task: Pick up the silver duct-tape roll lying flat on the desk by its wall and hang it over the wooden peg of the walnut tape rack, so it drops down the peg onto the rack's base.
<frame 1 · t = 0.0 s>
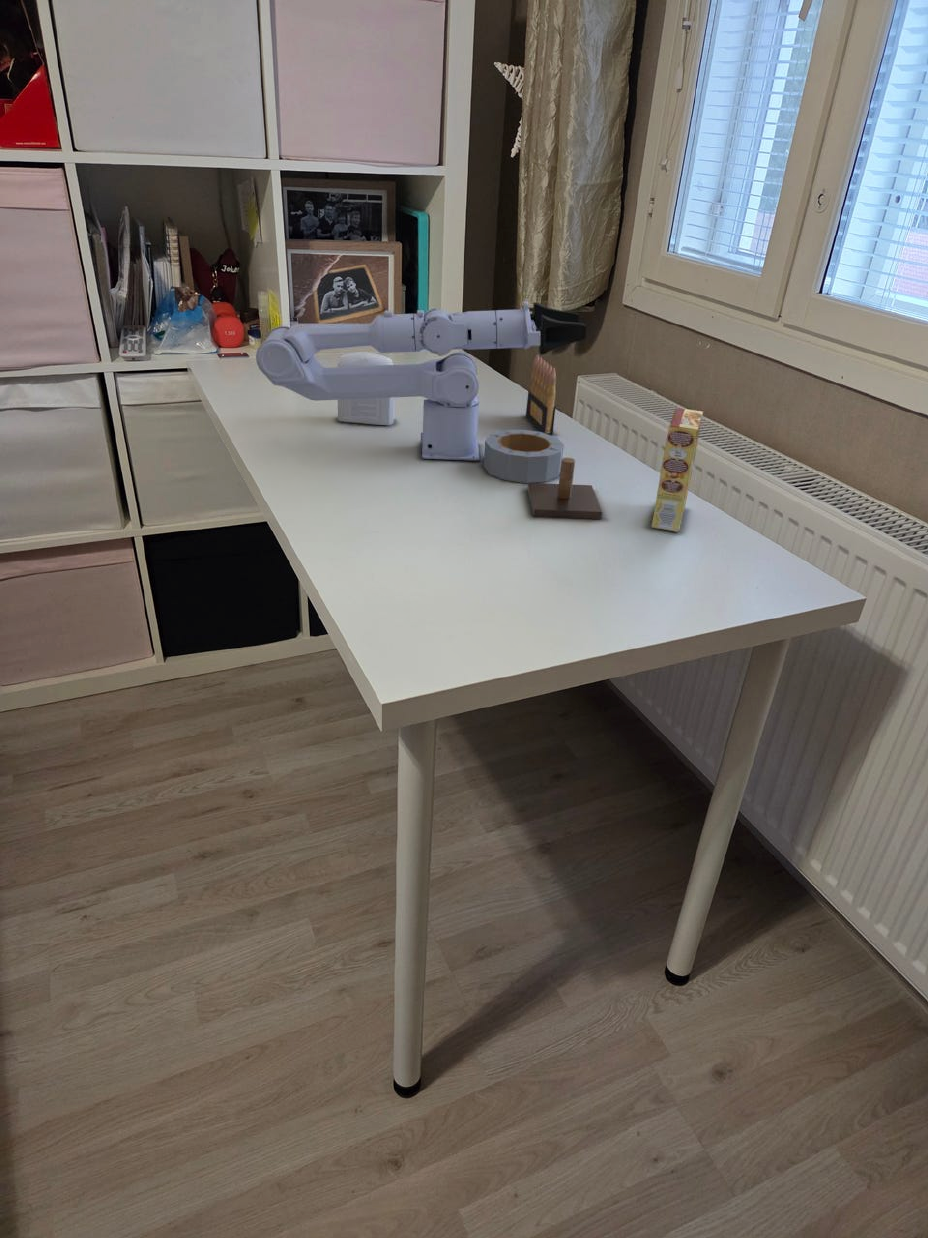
hand: (581, 325, 133), 22 cm above the table, tool horizontal, fingers open, 7 cm apart
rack: (563, 504, 128), on the table
candy box: (667, 520, 125), on the table
tape roll: (522, 468, 139), on the table
ammunition clip: (538, 426, 158), on the table
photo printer: (366, 422, 155), on the table
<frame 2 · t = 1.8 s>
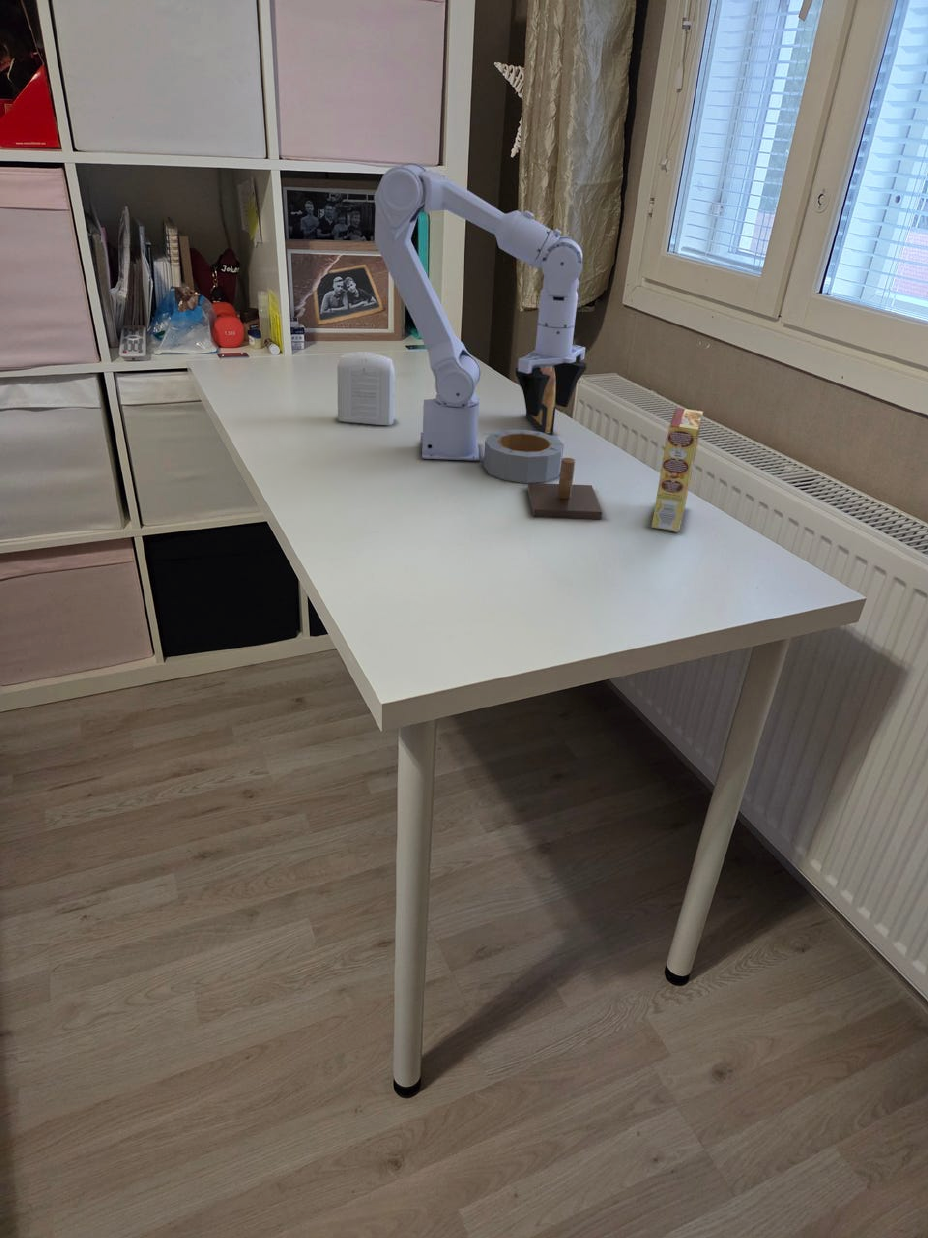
hand: (547, 410, 138), 9 cm above the table, tool pointing down, fingers open, 7 cm apart
nothing on the table moved.
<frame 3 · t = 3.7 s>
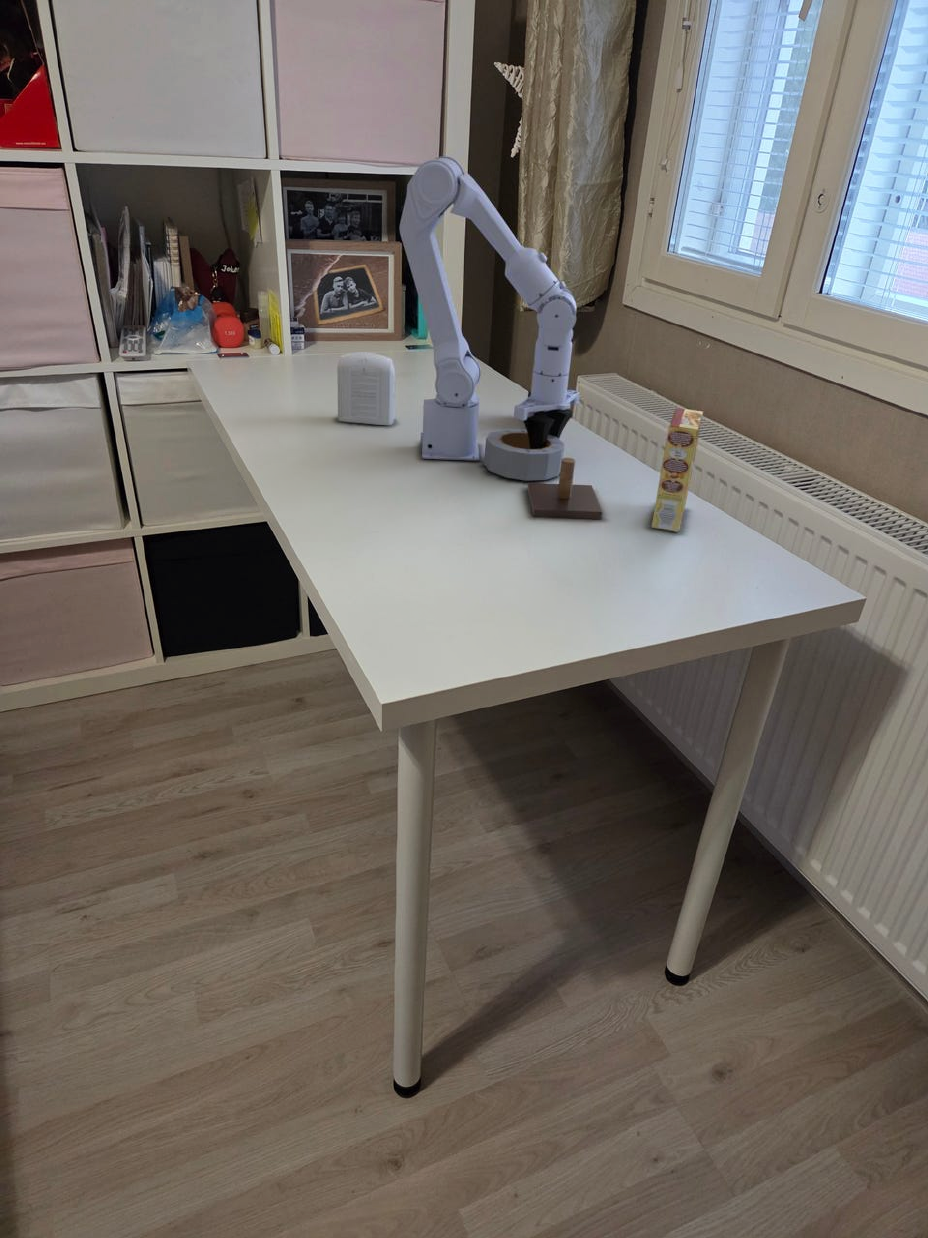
hand: (542, 453, 142), 1 cm above the table, tool pointing down, fingers closed on tape roll, 2 cm apart
tape roll: (522, 466, 139), on the table, touching gripper
everything else where it was.
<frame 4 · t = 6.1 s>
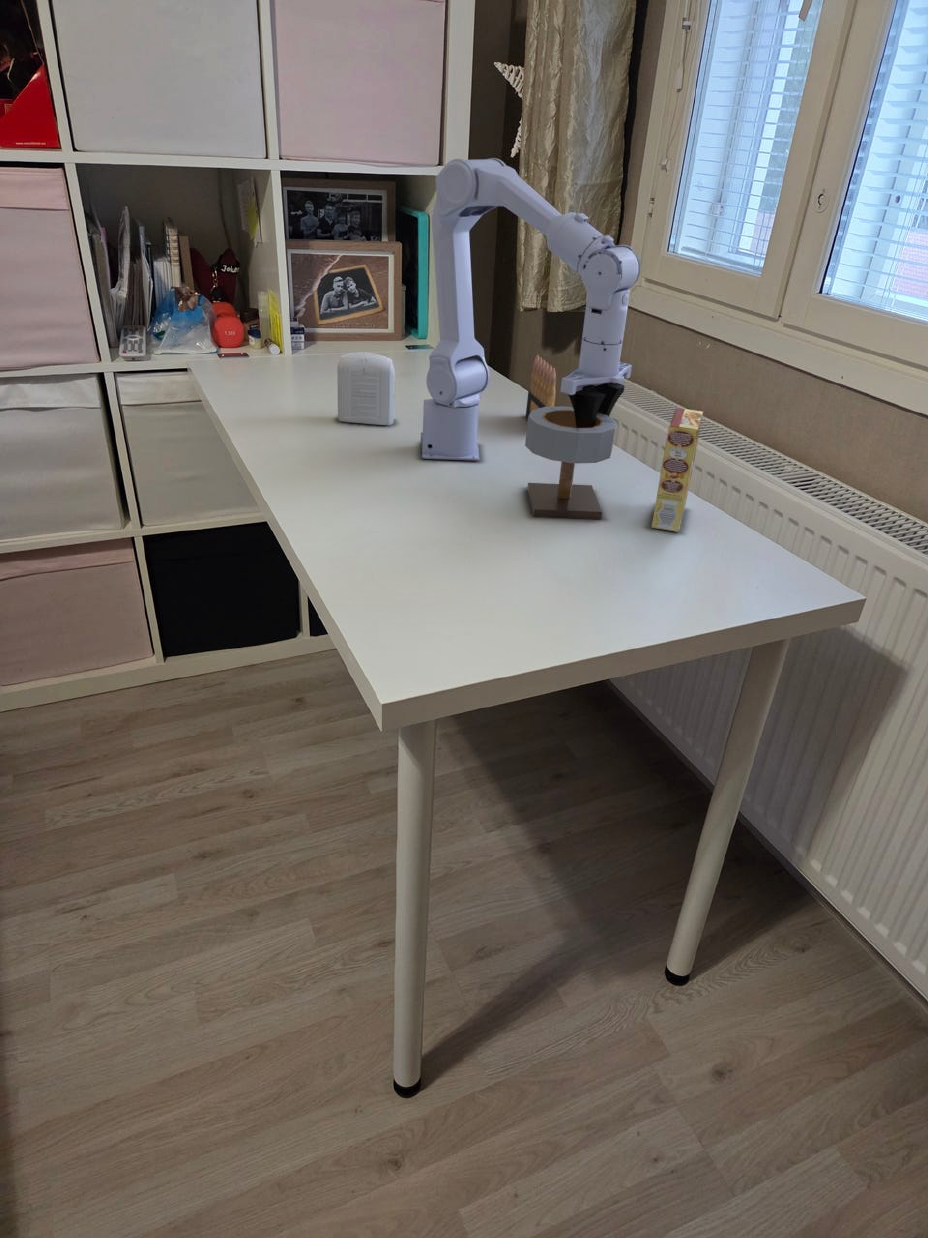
hand: (589, 433, 126), 10 cm above the table, tool pointing down, fingers closed on tape roll, 2 cm apart
tape roll: (568, 448, 124), point 9 cm above the table, touching gripper
everything else where it was.
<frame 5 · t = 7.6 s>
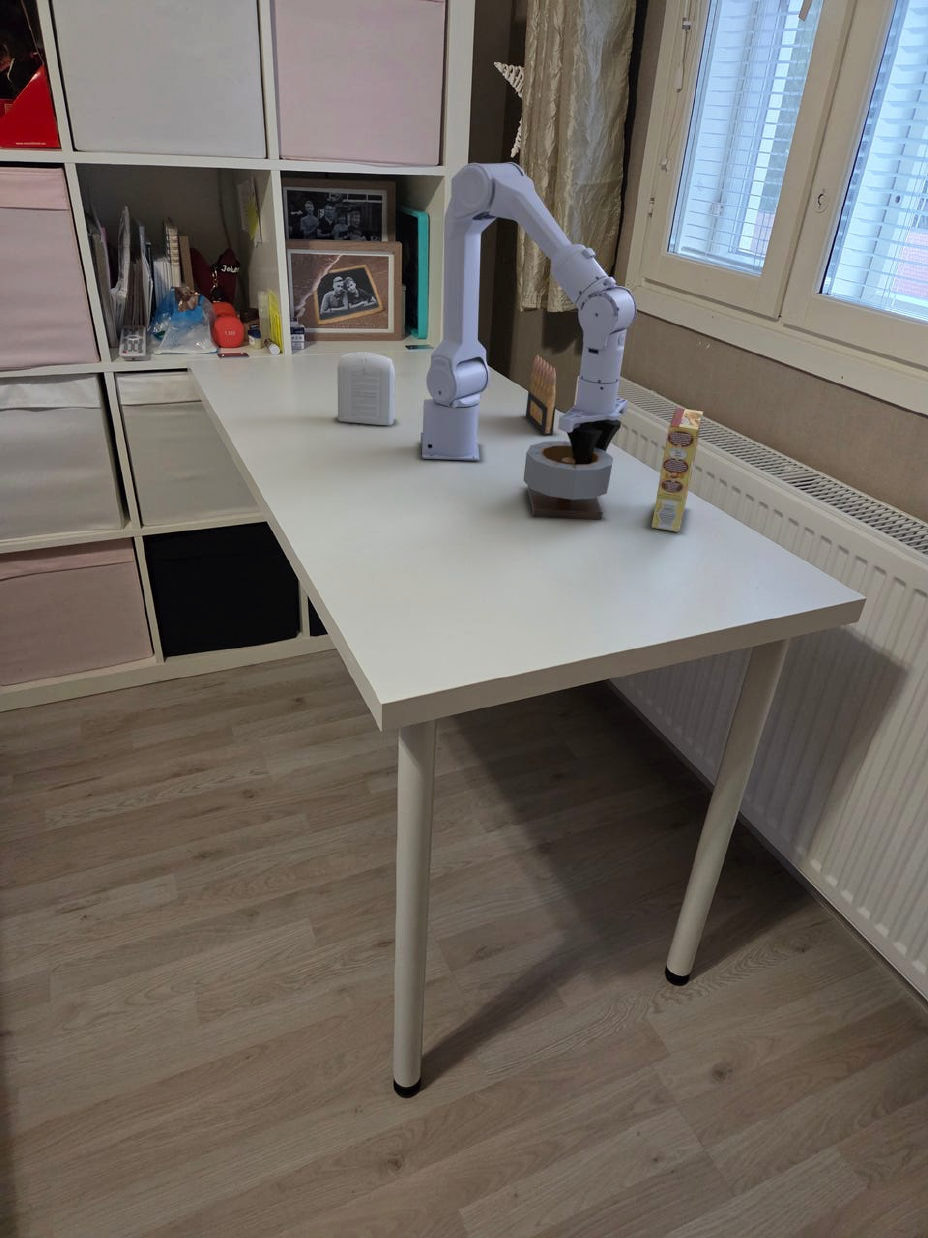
hand: (587, 467, 128), 5 cm above the table, tool pointing down, fingers closed on tape roll, 2 cm apart
tape roll: (566, 483, 126), point 3 cm above the table, touching gripper
everything else where it was.
when the fingers open (3 cm above the table, at t = 8.6 s): tape roll stays where it is, resting on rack.
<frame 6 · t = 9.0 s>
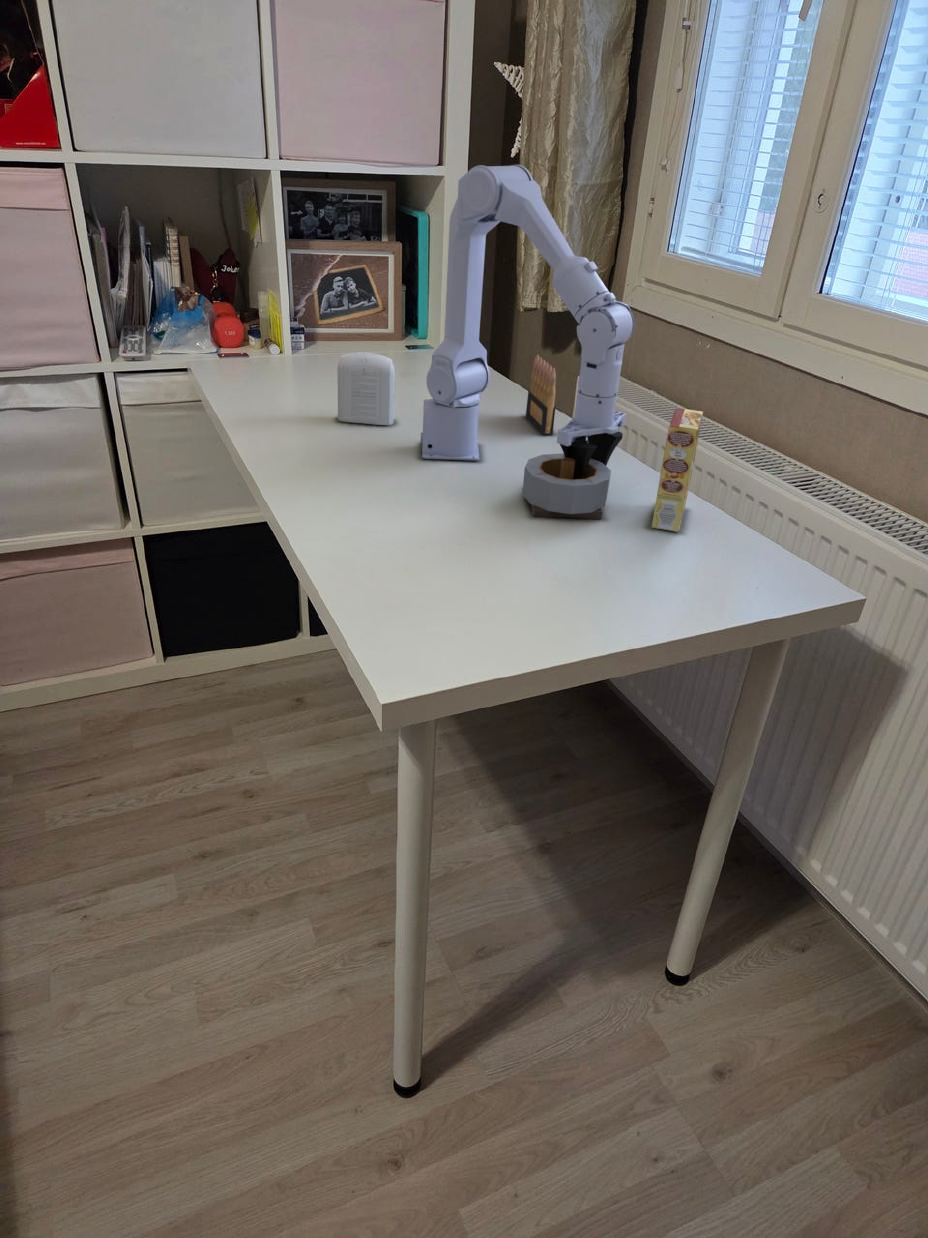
hand: (585, 479, 130), 3 cm above the table, tool pointing down, fingers open, 4 cm apart
tape roll: (564, 496, 127), point 1 cm above the table, touching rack
everything else where it was.
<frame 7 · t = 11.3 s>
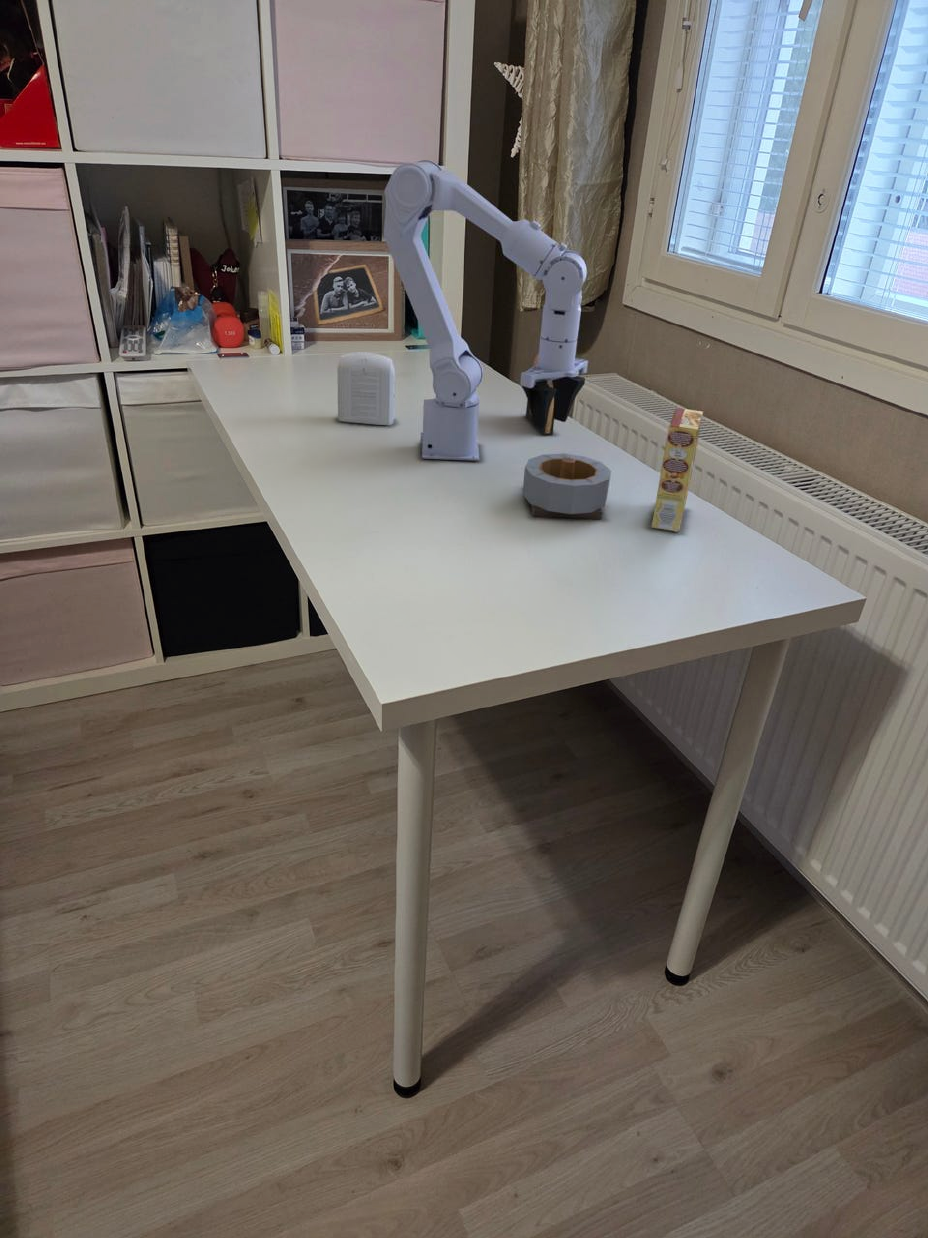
hand: (549, 423, 138), 7 cm above the table, tool pointing down, fingers open, 5 cm apart
nothing on the table moved.
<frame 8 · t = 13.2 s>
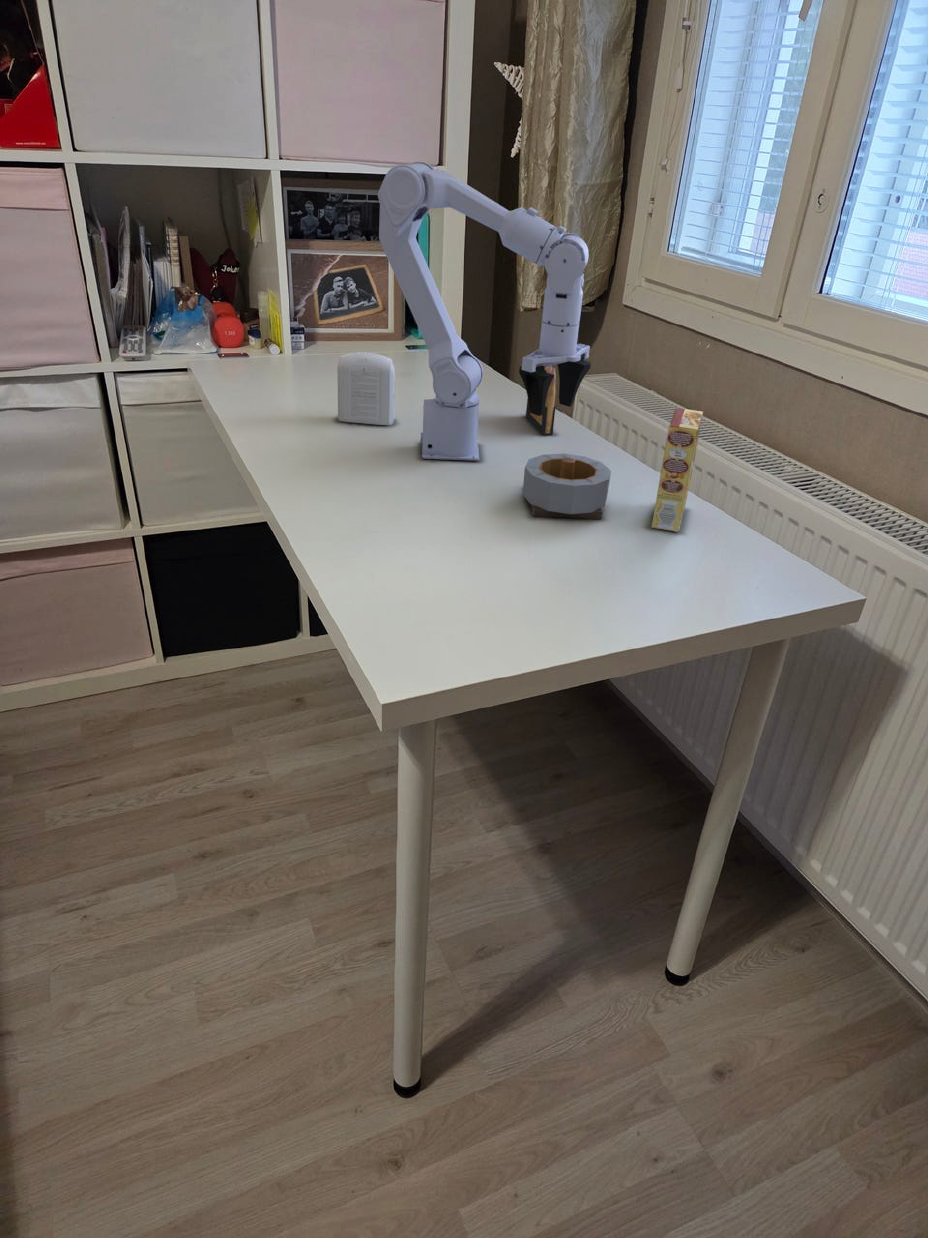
hand: (551, 409, 136), 9 cm above the table, tool pointing down, fingers open, 7 cm apart
nothing on the table moved.
at the end: tape roll 0.2 cm from the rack (horizontally); tape roll point 1.2 cm above the table; the gripper is holding nothing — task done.
